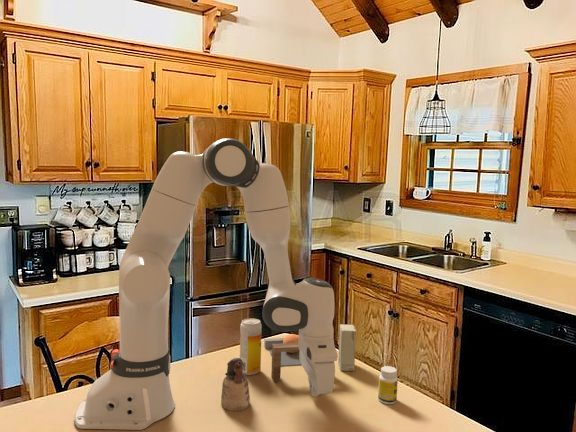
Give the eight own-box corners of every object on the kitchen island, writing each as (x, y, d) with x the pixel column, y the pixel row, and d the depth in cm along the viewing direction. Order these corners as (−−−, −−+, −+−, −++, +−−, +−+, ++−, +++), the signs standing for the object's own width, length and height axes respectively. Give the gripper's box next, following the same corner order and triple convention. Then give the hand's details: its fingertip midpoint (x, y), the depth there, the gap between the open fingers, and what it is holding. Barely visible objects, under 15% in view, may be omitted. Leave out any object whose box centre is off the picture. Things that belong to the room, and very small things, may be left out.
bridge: (331, 377, 134) (333, 344, 133) (273, 381, 131) (274, 348, 129) (328, 373, 137) (330, 341, 136) (271, 376, 133) (272, 343, 132)
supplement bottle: (396, 405, 119) (398, 374, 118) (377, 403, 120) (379, 372, 119) (396, 396, 124) (398, 366, 123) (378, 394, 125) (379, 364, 124)
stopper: (265, 348, 154) (265, 341, 153) (264, 346, 156) (264, 338, 155) (306, 346, 157) (306, 339, 156) (305, 344, 159) (305, 336, 158)
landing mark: (275, 366, 140) (275, 365, 140) (269, 350, 152) (269, 350, 152) (314, 364, 143) (314, 363, 143) (305, 348, 154) (305, 348, 154)
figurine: (246, 395, 122) (246, 351, 121) (252, 409, 116) (253, 362, 114) (218, 399, 120) (219, 354, 119) (224, 413, 113) (224, 365, 112)
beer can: (264, 370, 138) (265, 320, 136) (252, 377, 133) (253, 326, 131) (248, 365, 141) (249, 316, 139) (235, 372, 136) (236, 322, 134)
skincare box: (354, 371, 139) (356, 331, 137) (339, 371, 139) (341, 331, 137) (352, 362, 145) (353, 324, 144) (337, 362, 145) (339, 323, 144)
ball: (281, 345, 154) (285, 358, 149) (281, 331, 151) (285, 344, 146) (299, 342, 155) (303, 355, 150) (299, 328, 153) (303, 341, 147)
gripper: (294, 328, 129) (293, 376, 130) (314, 359, 109) (312, 415, 111) (316, 327, 130) (315, 375, 132) (340, 357, 110) (337, 413, 112)
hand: (313, 393), depth 121 cm, fingers closed
